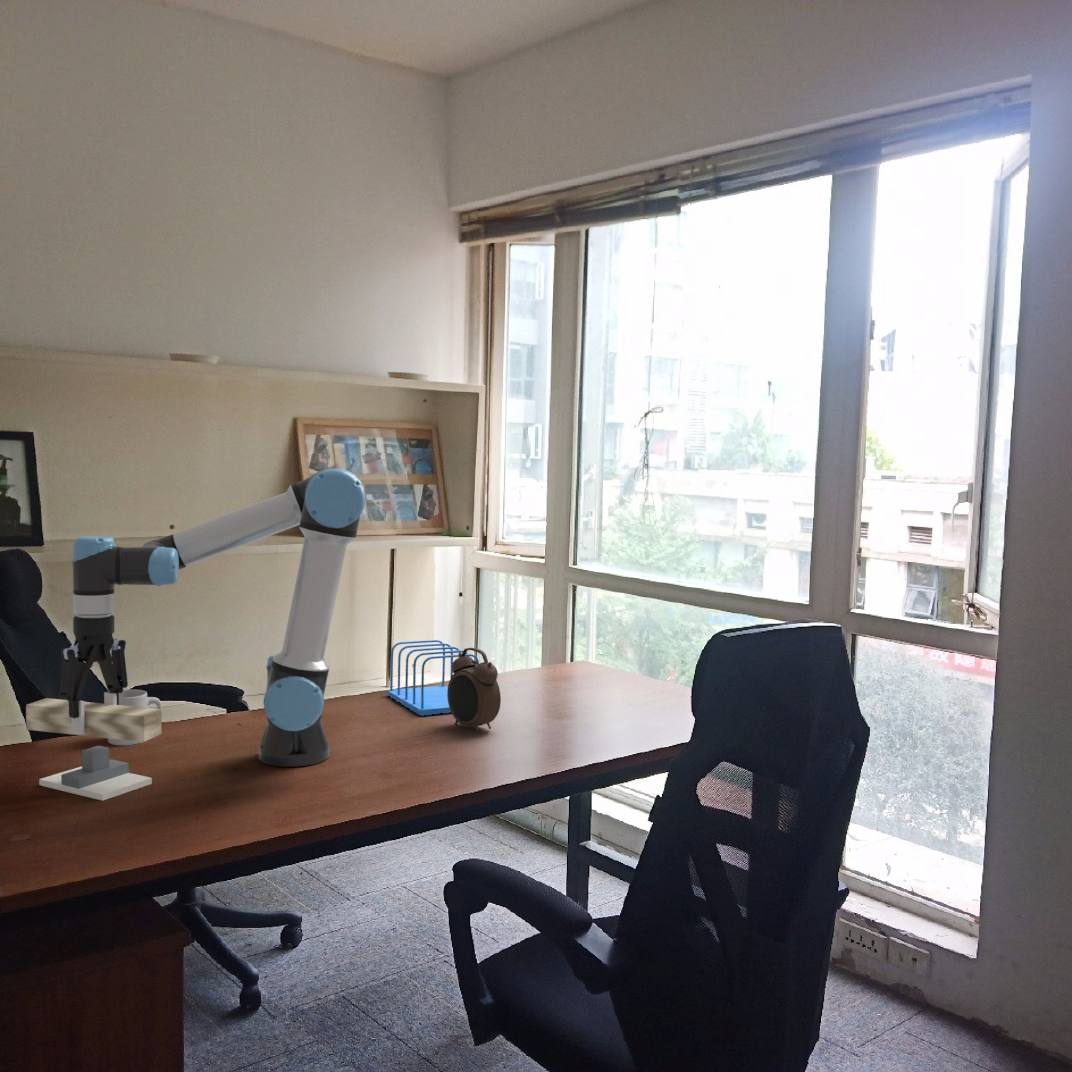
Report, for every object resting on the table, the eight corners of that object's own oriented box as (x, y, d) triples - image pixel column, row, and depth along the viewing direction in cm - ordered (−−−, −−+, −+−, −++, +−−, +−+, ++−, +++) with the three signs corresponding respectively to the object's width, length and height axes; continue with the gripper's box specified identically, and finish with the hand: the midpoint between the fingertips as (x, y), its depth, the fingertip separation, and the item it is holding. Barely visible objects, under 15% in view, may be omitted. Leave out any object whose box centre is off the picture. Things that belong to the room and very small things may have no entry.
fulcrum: (151, 783, 212) (151, 748, 211) (102, 800, 201) (102, 763, 201) (89, 769, 220) (89, 735, 220) (39, 785, 210) (38, 749, 209)
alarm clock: (442, 725, 262) (443, 645, 260) (464, 720, 267) (466, 642, 265) (479, 738, 251) (481, 655, 249) (502, 732, 256) (504, 651, 254)
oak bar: (161, 733, 210) (161, 709, 210) (144, 741, 204) (144, 716, 204) (46, 722, 216) (46, 698, 215) (26, 729, 210) (26, 704, 209)
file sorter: (481, 711, 277) (482, 653, 276) (420, 717, 269) (420, 658, 268) (444, 691, 299) (445, 637, 298) (386, 696, 291) (387, 641, 290)
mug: (113, 747, 236) (113, 699, 236) (103, 738, 243) (103, 692, 242) (167, 740, 244) (167, 693, 243) (156, 731, 250) (156, 686, 250)
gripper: (121, 607, 219) (121, 715, 220) (36, 619, 201) (37, 737, 203) (147, 610, 215) (147, 720, 217) (63, 623, 198) (64, 743, 199)
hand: (94, 728), depth 210 cm, fingers closed on oak bar, 7 cm apart
